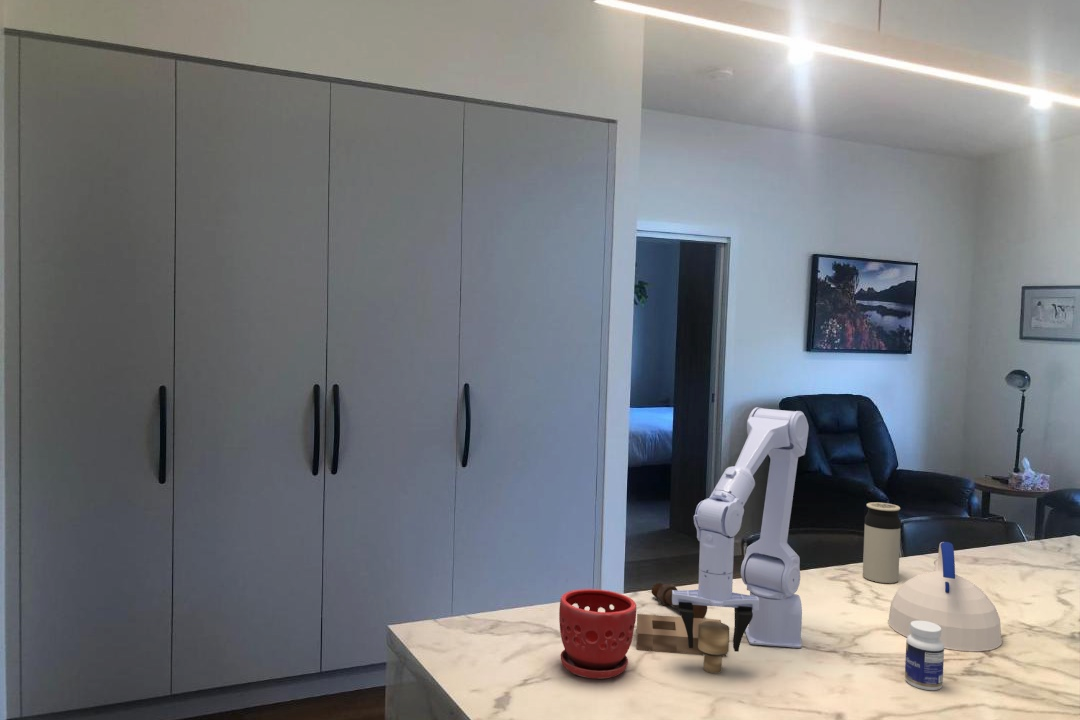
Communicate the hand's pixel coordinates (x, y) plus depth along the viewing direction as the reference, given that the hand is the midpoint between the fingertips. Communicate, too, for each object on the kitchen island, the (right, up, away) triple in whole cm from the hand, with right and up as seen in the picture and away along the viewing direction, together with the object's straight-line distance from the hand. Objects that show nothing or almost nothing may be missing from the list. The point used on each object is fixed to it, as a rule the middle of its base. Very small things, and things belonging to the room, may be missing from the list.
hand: (713, 647), depth 132 cm
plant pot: (-20, -4, 0) cm, 21 cm away
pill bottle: (+35, -5, -3) cm, 35 cm away
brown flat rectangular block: (-4, -3, +12) cm, 13 cm away
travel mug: (+53, -4, +54) cm, 76 cm away
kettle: (+51, -5, +21) cm, 55 cm away
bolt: (-1, -3, +30) cm, 30 cm away
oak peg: (0, -4, 0) cm, 4 cm away
